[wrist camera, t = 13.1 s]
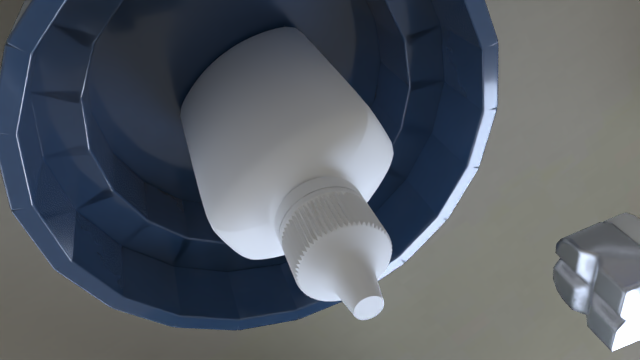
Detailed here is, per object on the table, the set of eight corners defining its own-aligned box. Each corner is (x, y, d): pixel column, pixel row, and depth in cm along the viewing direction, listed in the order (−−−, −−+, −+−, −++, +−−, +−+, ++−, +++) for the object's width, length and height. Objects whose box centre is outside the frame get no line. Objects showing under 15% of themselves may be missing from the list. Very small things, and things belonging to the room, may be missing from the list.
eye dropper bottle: (320, 120, 22) (473, 337, 13) (187, 147, 21) (250, 409, 12) (314, 18, 20) (500, 195, 11) (163, 41, 19) (220, 267, 9)
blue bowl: (-81, -72, 15) (-164, -24, 11) (395, -199, 18) (502, -205, 13) (132, 276, 25) (138, 385, 20) (428, 165, 27) (497, 239, 22)
